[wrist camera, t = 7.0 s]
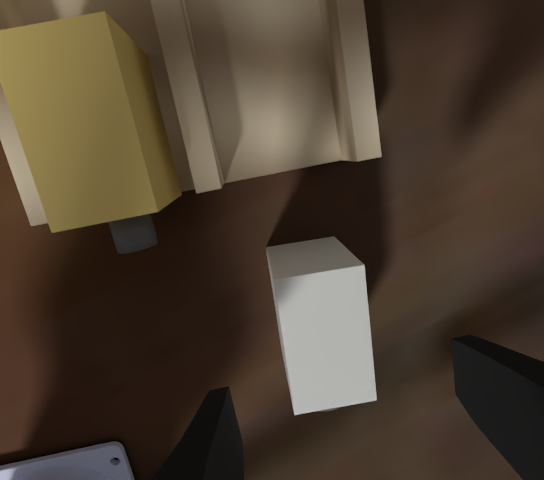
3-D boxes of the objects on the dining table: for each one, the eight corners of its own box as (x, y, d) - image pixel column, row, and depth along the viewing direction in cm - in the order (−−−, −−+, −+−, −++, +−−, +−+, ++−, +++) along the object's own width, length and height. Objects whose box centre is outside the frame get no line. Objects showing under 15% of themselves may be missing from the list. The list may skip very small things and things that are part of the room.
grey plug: (347, 365, 21) (379, 430, 16) (285, 376, 21) (299, 445, 16) (333, 236, 19) (364, 264, 14) (265, 246, 19) (273, 279, 14)
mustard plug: (189, 226, 18) (169, 255, 13) (115, 241, 17) (66, 275, 13) (146, 54, 16) (104, 11, 11) (63, 69, 16) (-17, 32, 11)
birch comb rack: (367, 153, 18) (393, 154, 15) (58, 214, 18) (18, 228, 15) (333, -114, 16) (357, -183, 12) (-30, -51, 15) (-103, -105, 12)
